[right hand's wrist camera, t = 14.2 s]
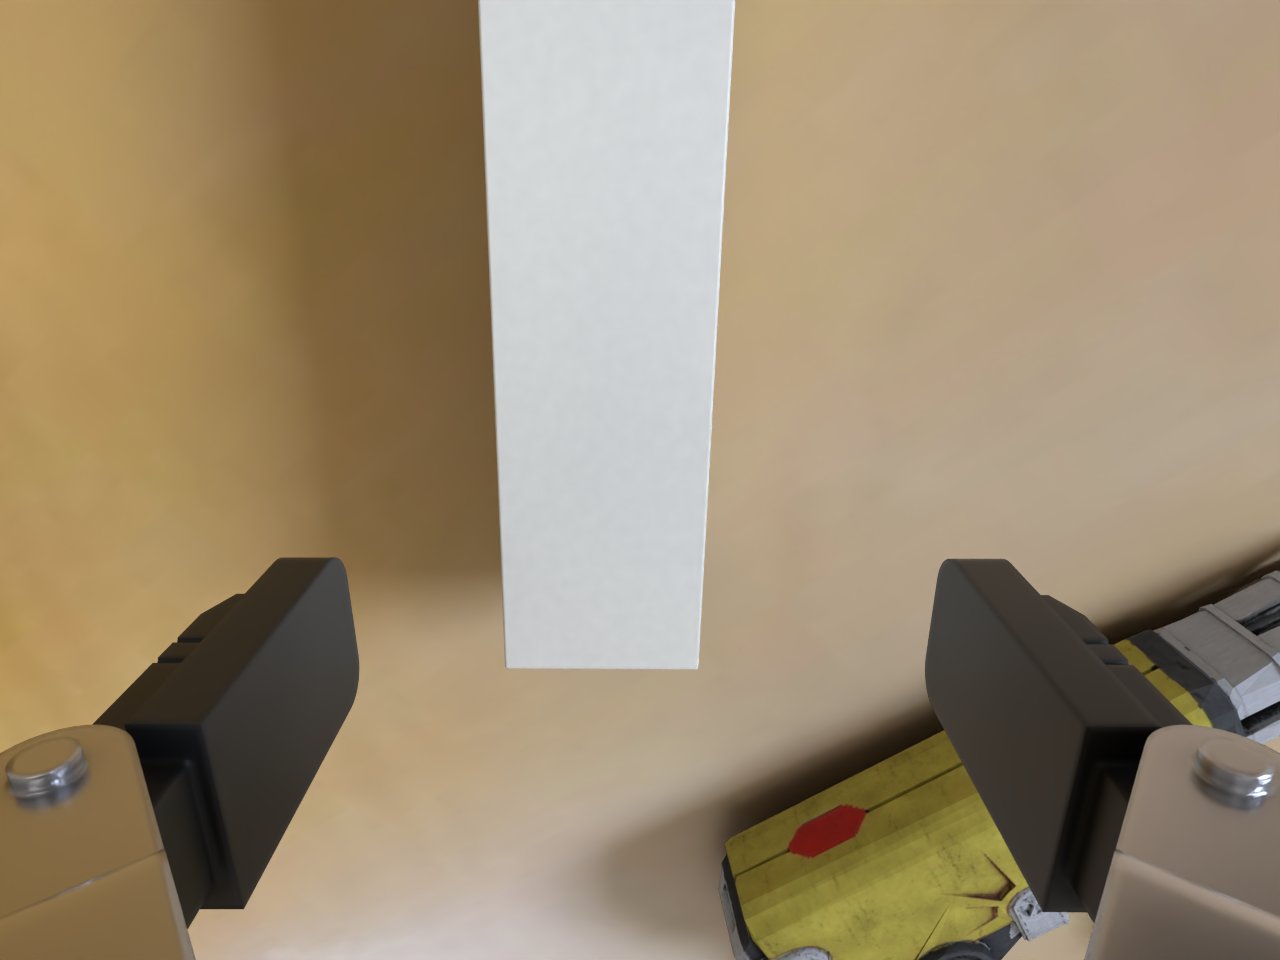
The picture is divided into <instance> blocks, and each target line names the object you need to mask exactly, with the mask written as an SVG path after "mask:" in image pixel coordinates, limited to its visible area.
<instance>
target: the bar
mask: <svg viewBox="0 0 1280 960" xmlns="http://www.w3.org/2000/svg"><path fill="white" fill-rule="evenodd" d="M734 13H735V0H478V16H479V40H480V65H481V89H482V113H483V138H484V162H485V186H486V211H487V235H488V259H489V284H490V308H491V333H492V357H493V381H494V406H495V430H496V454H497V479H498V503H499V527H500V552H501V576H502V600H503V625H504V649H505V667H506V668H507V669H698V665H699V646H700V628H701V610H702V592H703V574H704V556H705V538H706V520H707V502H708V483H709V465H710V447H711V429H712V411H713V393H714V375H715V357H716V339H717V320H718V302H719V284H720V266H721V248H722V230H723V212H724V194H725V176H726V157H727V139H728V121H729V103H730V85H731V67H732V49H733V31H734Z"/></svg>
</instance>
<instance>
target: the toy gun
mask: <svg viewBox="0 0 1280 960" xmlns="http://www.w3.org/2000/svg"><path fill="white" fill-rule="evenodd" d="M1114 646H1115V647H1116V648H1117V649H1118V650H1119V651H1120V652H1121V653H1122V654H1123V655H1124V656H1125V657H1126V658H1127V659H1128V664H1129V665H1134V666H1135V667H1136V668H1137V669H1138V670H1139V671H1140V672H1141V673H1142V674H1143V675H1144V676H1145V677H1146V678H1147V679H1148V680H1149V681H1150V682H1151V683H1152V684H1153V685H1154V686H1155V687H1156V688H1157V689H1158V690H1159V691H1160V692H1161V693H1162V694H1163V695H1164V696H1165V697H1166V698H1167V699H1168V700H1169V701H1170V702H1171V703H1172V704H1173V705H1174V706H1175V707H1176V708H1177V709H1178V710H1179V711H1180V712H1181V713H1182V714H1183V715H1184V716H1185V717H1186V718H1187V719H1188V720H1189V721H1190V723H1191V724H1192V725H1198V726H1206V727H1211V728H1216V729H1221V730H1225V731H1228V732H1232V733H1235V734H1238V735H1241V736H1244V737H1246V738H1249V739H1252V740H1254V741H1256V742H1258V743H1261V744H1264V743H1266V742H1268V741H1270V740H1272V739H1274V738H1276V737H1278V736H1280V572H1278V571H1274V572H1271V573H1269V574H1266V575H1264V576H1263V577H1262V578H1261V581H1259V582H1257V583H1255V584H1253V585H1252V586H1250V587H1248V588H1246V589H1244V590H1242V591H1240V592H1238V593H1236V594H1234V595H1232V596H1230V597H1228V598H1226V599H1224V600H1222V601H1220V602H1218V603H1216V604H1214V605H1212V604H1209V605H1206V606H1202V607H1200V608H1199V611H1198V612H1197V613H1195V614H1192V615H1190V616H1188V617H1186V618H1184V619H1182V620H1180V621H1177V622H1174V623H1172V624H1169V625H1167V626H1164V627H1162V628H1159V629H1156V630H1151V629H1149V630H1146V631H1142V632H1140V633H1138V634H1135V635H1133V636H1131V637H1129V638H1126V639H1124V640H1122V641H1120V642H1118V643H1116V644H1114ZM725 848H726V852H727V855H726V857H725V858H724V860H723V862H722V871H721V877H720V883H719V889H718V890H719V894H720V898H721V902H722V907H723V911H724V915H725V920H726V924H727V928H728V932H729V937H730V941H731V945H732V950H733V954H734V957H735V958H736V959H737V960H1001V959H1002V958H1003V957H1004V956H1005V955H1006V954H1007V952H1008V951H1009V950H1010V949H1011V948H1012V947H1013V946H1014V944H1015V943H1016V942H1017V941H1018V940H1019V939H1020V938H1021V937H1022V936H1023V938H1024V939H1027V940H1028V941H1031V940H1032V939H1034V938H1036V937H1038V936H1040V935H1042V934H1044V933H1047V932H1049V931H1051V930H1053V929H1055V928H1057V927H1059V926H1061V925H1064V924H1066V923H1069V916H1068V913H1067V912H1042V910H1041V908H1040V906H1039V904H1038V902H1037V900H1036V899H1035V897H1034V895H1033V893H1032V891H1031V889H1030V888H1029V886H1028V884H1027V882H1026V880H1025V878H1024V876H1023V875H1022V873H1021V871H1020V869H1019V867H1018V865H1017V864H1016V862H1015V860H1014V858H1013V856H1012V854H1011V852H1010V851H1009V849H1008V847H1007V845H1006V843H1005V841H1004V839H1003V838H1002V836H1001V834H1000V832H999V830H998V828H997V827H996V825H995V823H994V821H993V819H992V817H991V815H990V814H989V812H988V810H987V808H986V806H985V804H984V802H983V801H982V799H981V797H980V795H979V793H978V791H977V790H976V788H975V786H974V784H973V782H972V780H971V778H970V777H969V775H968V773H967V771H966V769H965V767H964V765H963V764H962V762H961V760H960V758H959V756H958V754H957V753H956V751H955V749H954V747H953V745H952V743H951V741H950V740H949V738H948V736H947V734H946V732H945V730H943V731H941V732H939V733H937V734H935V735H933V736H931V737H930V738H928V739H926V740H924V741H922V742H920V743H918V744H916V745H914V746H912V747H910V748H908V749H906V750H904V751H902V752H900V753H898V754H896V755H894V756H892V757H890V758H888V759H886V760H884V761H882V762H880V763H878V764H876V765H874V766H872V767H870V768H868V769H866V770H864V771H862V772H860V773H858V774H856V775H854V776H852V777H850V778H848V779H846V780H844V781H842V782H840V783H838V784H836V785H834V786H832V787H830V788H828V789H826V790H824V791H822V792H820V793H818V794H816V795H814V796H812V797H810V798H808V799H806V800H804V801H802V802H800V803H798V804H796V805H794V806H793V807H791V808H789V809H787V810H785V811H783V812H781V813H779V814H777V815H775V816H773V817H771V818H769V819H767V820H765V821H763V822H761V823H759V824H757V825H755V826H753V827H751V828H749V829H747V830H745V831H743V832H741V833H739V834H737V835H735V836H733V837H731V838H729V840H728V841H727V842H726V843H725Z"/></svg>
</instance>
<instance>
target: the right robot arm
mask: <svg viewBox="0 0 1280 960" xmlns="http://www.w3.org/2000/svg"><path fill="white" fill-rule="evenodd" d="M925 679H926V687H927V692H928V697H929V700H930V703H931V706H932V708H933V710H934V712H935V714H936V716H937V717H938V719H939V721H940V723H941V725H942V727H943V729H944V730H945V732H946V734H947V736H948V738H949V740H950V741H951V743H952V745H953V747H954V749H955V751H956V753H957V754H958V756H959V758H960V760H961V762H962V764H963V765H964V767H965V769H966V771H967V773H968V775H969V777H970V778H971V780H972V782H973V784H974V786H975V788H976V790H977V791H978V793H979V795H980V797H981V799H982V801H983V802H984V804H985V806H986V808H987V810H988V812H989V814H990V815H991V817H992V819H993V821H994V823H995V825H996V827H997V828H998V830H999V832H1000V834H1001V836H1002V838H1003V839H1004V841H1005V843H1006V845H1007V847H1008V849H1009V851H1010V852H1011V854H1012V856H1013V858H1014V860H1015V862H1016V864H1017V865H1018V867H1019V869H1020V871H1021V873H1022V875H1023V876H1024V878H1025V880H1026V882H1027V884H1028V886H1029V888H1030V889H1031V891H1032V893H1033V895H1034V897H1035V899H1036V900H1037V902H1038V904H1039V906H1040V908H1041V910H1042V912H1088V914H1089V916H1090V917H1091V919H1092V921H1093V922H1094V927H1093V930H1092V934H1091V937H1090V941H1089V945H1088V948H1087V952H1086V955H1085V959H1084V960H1280V753H1278V752H1277V751H1275V750H1273V749H1271V748H1269V747H1267V746H1265V745H1263V744H1261V743H1258V742H1256V741H1254V740H1252V739H1249V738H1246V737H1244V736H1241V735H1238V734H1235V733H1232V732H1228V731H1225V730H1221V729H1216V728H1211V727H1206V726H1198V725H1192V724H1191V723H1190V721H1189V720H1188V719H1187V718H1186V717H1185V716H1184V715H1183V714H1182V713H1181V712H1180V711H1179V710H1178V709H1177V708H1176V707H1175V706H1174V705H1173V704H1172V703H1171V702H1170V701H1169V700H1168V699H1167V698H1166V697H1165V696H1164V695H1163V694H1162V693H1161V692H1160V691H1159V690H1158V689H1157V688H1156V687H1155V686H1154V685H1153V684H1152V683H1151V682H1150V681H1149V680H1148V679H1147V678H1146V677H1145V676H1144V675H1143V674H1142V673H1141V672H1140V671H1139V670H1138V669H1137V668H1136V667H1135V666H1134V665H1129V664H1128V659H1127V658H1126V657H1125V656H1124V655H1123V654H1122V653H1121V652H1120V651H1119V650H1118V649H1117V648H1116V647H1115V646H1114V645H1113V644H1109V643H1108V639H1107V638H1106V637H1105V636H1104V635H1103V634H1102V633H1101V632H1100V631H1099V630H1098V629H1097V628H1096V627H1095V626H1094V625H1093V624H1092V623H1091V622H1090V621H1089V620H1088V619H1087V618H1086V617H1085V616H1084V615H1083V614H1081V613H1079V612H1077V611H1075V610H1074V609H1072V608H1070V607H1068V606H1067V605H1065V604H1063V603H1061V602H1059V601H1058V600H1056V599H1054V598H1052V597H1051V596H1049V595H1040V594H1039V593H1038V592H1037V591H1036V590H1035V589H1034V588H1033V587H1032V586H1031V585H1030V583H1029V582H1028V581H1027V580H1026V579H1025V578H1024V577H1023V576H1022V575H1021V574H1020V573H1019V572H1018V571H1017V570H1016V569H1015V567H1014V566H1013V565H1012V564H1011V563H1010V562H1009V561H1007V560H1005V559H947V560H945V561H944V562H943V564H942V565H941V567H940V570H939V573H938V578H937V584H936V591H935V598H934V605H933V612H932V619H931V626H930V632H929V639H928V646H927V653H926V661H925ZM358 681H359V657H358V649H357V642H356V635H355V628H354V622H353V615H352V608H351V601H350V594H349V587H348V580H347V574H346V570H345V567H344V565H343V563H342V561H341V560H340V559H338V558H279V559H277V560H276V561H275V562H274V563H273V564H272V565H271V566H270V567H269V568H268V569H267V571H266V572H265V573H264V574H263V575H262V576H261V577H260V578H259V579H258V580H257V581H256V582H255V584H254V585H253V586H252V587H251V588H250V589H249V590H248V591H247V592H246V593H245V594H236V595H234V596H232V597H230V598H229V599H227V600H225V601H223V602H221V603H220V604H218V605H216V606H214V607H213V608H211V609H209V610H207V611H206V612H204V613H202V614H201V615H200V616H199V617H198V618H197V619H196V620H195V621H194V622H193V623H192V624H191V625H190V626H189V627H188V628H187V629H186V630H185V631H184V632H183V633H182V634H181V635H180V636H179V637H178V641H177V643H172V644H171V645H170V646H169V647H168V648H167V649H166V650H165V651H164V652H163V653H162V654H161V655H160V656H159V657H158V663H152V664H151V665H150V666H149V667H148V669H147V670H146V671H145V672H144V673H143V674H142V675H141V676H140V677H139V678H138V679H137V680H136V681H135V682H134V683H133V684H132V685H131V686H130V687H129V688H128V689H127V690H126V691H125V692H124V693H123V694H122V695H121V696H120V697H119V698H118V699H117V700H116V701H115V702H114V703H113V704H112V705H111V706H110V707H109V708H108V709H107V710H106V711H105V712H104V713H103V714H102V715H101V716H100V717H99V718H98V719H97V720H96V721H95V722H94V723H93V724H92V725H82V726H74V727H69V728H64V729H59V730H55V731H52V732H48V733H45V734H42V735H39V736H36V737H34V738H31V739H28V740H26V741H24V742H22V743H19V744H17V745H15V746H13V747H11V748H9V749H7V750H5V751H3V752H2V753H0V960H196V959H195V955H194V952H193V948H192V945H191V941H190V937H189V934H188V930H187V929H188V928H189V926H190V924H191V923H192V921H193V919H194V918H195V916H196V914H197V913H198V911H199V909H244V908H245V906H246V904H247V902H248V900H249V898H250V896H251V895H252V893H253V891H254V889H255V887H256V885H257V883H258V881H259V880H260V878H261V876H262V874H263V872H264V870H265V868H266V866H267V865H268V863H269V861H270V859H271V857H272V855H273V853H274V851H275V850H276V848H277V846H278V844H279V842H280V840H281V838H282V836H283V835H284V833H285V831H286V829H287V827H288V825H289V823H290V822H291V820H292V818H293V816H294V814H295V812H296V810H297V808H298V807H299V805H300V803H301V801H302V799H303V797H304V795H305V793H306V792H307V790H308V788H309V786H310V784H311V782H312V780H313V778H314V777H315V775H316V773H317V771H318V769H319V767H320V765H321V763H322V762H323V760H324V758H325V756H326V754H327V752H328V750H329V749H330V747H331V745H332V743H333V741H334V739H335V737H336V735H337V734H338V732H339V730H340V728H341V726H342V724H343V722H344V720H345V719H346V717H347V715H348V713H349V711H350V709H351V707H352V705H353V703H354V700H355V696H356V693H357V688H358Z"/></svg>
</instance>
